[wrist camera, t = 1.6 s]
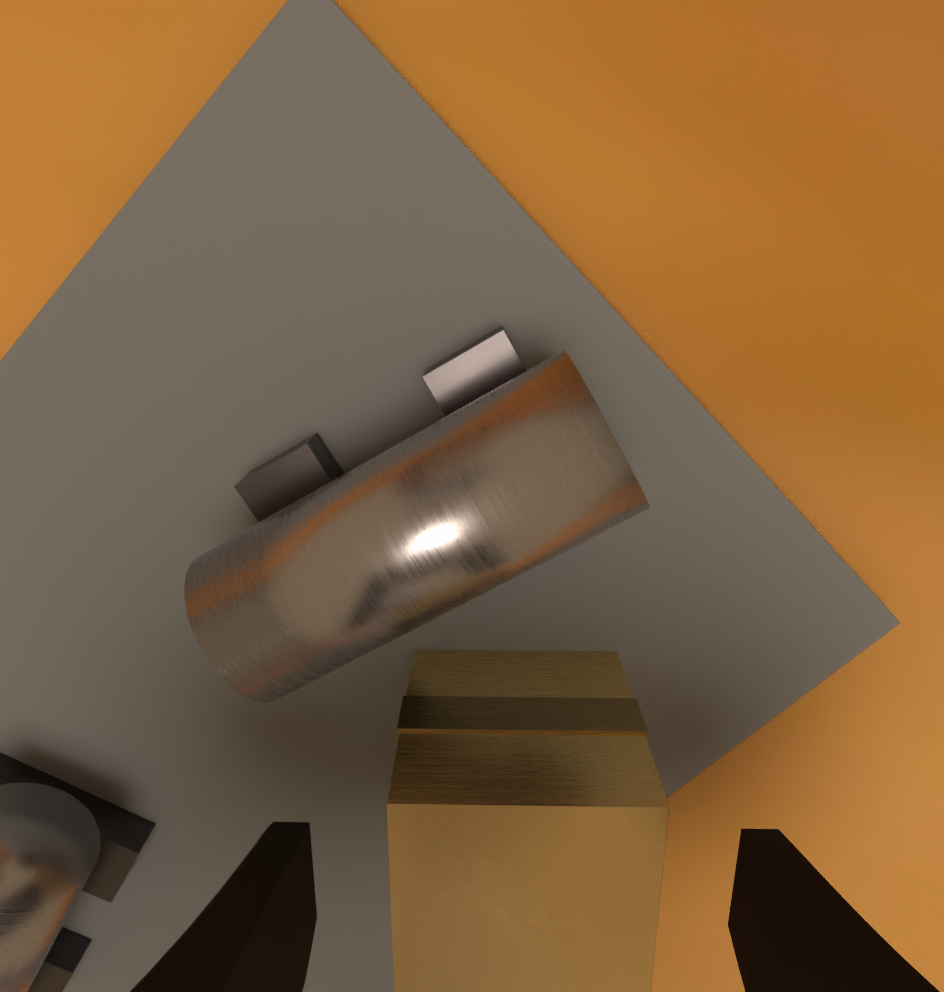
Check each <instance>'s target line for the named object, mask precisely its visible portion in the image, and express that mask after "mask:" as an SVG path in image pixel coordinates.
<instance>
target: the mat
mask: <svg viewBox="0 0 944 992" xmlns="http://www.w3.org/2000/svg"><path fill="white" fill-rule="evenodd" d="M500 326H503V327H504V329H505V331H506V333H507V335H508V337H509V338H510V340H511V342H512V344H513V346H514V347H515V349H516V351H517V353H518V355H519V357H520V358H521V360H522V362H523V364H524V366H525V367H526V369H527V370H529V369H531V368H533V367H534V366H536V365H538V364H540V363H542V362H543V361H545V360H547V359H549V358H550V357H552V356H554V355H556V354H557V353H559V352H561V351H563V350H565V351H566V352H567V354H568V355H569V357H570V358H571V360H572V362H573V363H574V365H575V367H576V368H577V370H578V372H579V374H580V375H581V377H582V379H583V380H584V382H585V384H586V386H587V387H588V389H589V391H590V393H591V395H592V396H593V398H594V400H595V402H596V404H597V405H598V407H599V409H600V411H601V413H602V414H603V416H604V418H605V420H606V422H607V424H608V425H609V427H610V429H611V431H612V433H613V435H614V437H615V438H616V440H617V442H618V444H619V446H620V448H621V450H622V452H623V453H624V455H625V457H626V459H627V461H628V463H629V465H630V467H631V469H632V471H633V473H634V475H635V477H636V479H637V480H638V482H639V484H640V486H641V488H642V491H643V493H644V495H645V497H646V499H647V501H648V503H649V506H650V508H649V509H647V510H645V511H643V512H641V513H639V514H638V515H636V516H634V517H632V518H630V519H628V520H626V521H624V522H622V523H620V524H618V525H616V526H614V527H612V528H610V529H608V530H606V531H604V532H603V533H601V534H599V535H597V536H595V537H593V538H591V539H589V540H587V541H585V542H583V543H581V544H579V545H577V546H575V547H573V548H571V549H570V550H568V551H566V552H564V553H562V554H560V555H558V556H556V557H554V558H552V559H550V560H548V561H546V562H544V563H542V564H540V565H538V566H536V567H535V568H533V569H531V570H529V571H527V572H525V573H523V574H521V575H519V576H517V577H515V578H513V579H511V580H509V581H507V582H505V583H503V584H502V585H500V586H498V587H496V588H494V589H492V590H490V591H488V592H486V593H484V594H482V595H480V596H478V597H476V598H474V599H472V600H470V601H468V602H467V603H465V604H463V605H461V606H459V607H457V608H455V609H453V610H451V611H449V612H447V613H445V614H443V615H441V616H439V617H437V618H435V619H433V620H432V621H430V622H428V623H426V624H424V625H422V626H420V627H418V628H416V629H414V630H412V631H410V632H408V633H406V634H404V635H402V636H400V637H399V638H397V639H395V640H393V641H391V642H389V643H387V644H385V645H383V646H381V647H379V648H377V649H375V650H373V651H371V652H369V653H367V654H365V655H364V656H362V657H360V658H358V659H356V660H354V661H352V662H350V663H348V664H346V665H344V666H342V667H340V668H338V669H336V670H334V671H332V672H331V673H329V674H327V675H325V676H323V677H321V678H319V679H317V680H315V681H313V682H311V683H309V684H307V685H305V686H303V687H301V688H299V689H297V690H296V691H294V692H292V693H290V694H288V695H286V696H284V697H282V698H280V699H278V700H276V701H273V702H270V703H261V702H256V701H253V700H250V699H248V698H246V697H244V696H242V695H241V694H239V693H238V692H236V691H235V690H234V689H233V688H231V687H230V686H229V685H228V684H227V683H226V682H225V681H224V680H223V679H222V678H221V677H220V676H219V674H218V673H217V672H216V671H215V670H214V668H213V667H212V666H211V664H210V663H209V661H208V660H207V658H206V657H205V655H204V653H203V651H202V650H201V648H200V646H199V644H198V642H197V640H196V638H195V635H194V633H193V630H192V628H191V625H190V622H189V618H188V615H187V610H186V605H185V597H184V585H185V577H186V574H187V570H188V568H189V566H190V564H191V563H192V562H193V561H194V560H195V559H196V558H197V557H198V556H200V555H202V554H204V553H206V552H207V551H209V550H211V549H213V548H214V547H216V546H218V545H220V544H221V543H223V542H225V541H227V540H229V539H230V538H232V537H234V536H236V535H237V534H239V533H241V532H243V531H244V530H246V529H248V528H250V527H252V526H253V525H255V524H257V523H259V522H258V520H257V519H256V517H255V516H254V515H253V513H252V512H251V510H250V509H249V507H248V506H247V505H246V503H245V502H244V500H243V499H242V497H241V496H240V495H239V493H238V492H237V490H236V489H235V487H234V486H235V485H236V484H237V483H238V482H239V481H240V480H241V479H242V478H243V477H244V476H245V475H247V474H248V473H249V472H251V471H252V470H254V469H256V468H257V467H259V466H261V465H263V464H264V463H266V462H268V461H269V460H271V459H273V458H275V457H276V456H278V455H280V454H282V453H283V452H285V451H287V450H288V449H290V448H292V447H294V446H295V445H297V444H299V443H300V442H302V441H304V440H306V439H307V438H309V437H311V436H313V435H314V434H316V433H318V434H319V435H320V437H321V438H322V440H323V441H324V443H325V444H326V446H327V448H328V449H329V451H330V452H331V454H332V455H333V457H334V458H335V460H336V461H337V463H338V464H339V466H340V468H341V469H342V471H343V472H344V474H345V473H347V472H349V471H351V470H352V469H354V468H356V467H358V466H359V465H361V464H363V463H365V462H366V461H368V460H370V459H372V458H374V457H375V456H377V455H379V454H381V453H382V452H384V451H386V450H388V449H389V448H391V447H393V446H395V445H397V444H398V443H400V442H402V441H404V440H405V439H407V438H409V437H411V436H412V435H414V434H416V433H418V432H420V431H421V430H423V429H425V428H427V427H428V426H430V425H432V424H434V423H435V422H437V421H439V420H441V419H442V418H444V417H446V416H445V414H444V413H443V411H442V409H441V408H440V406H439V404H438V402H437V401H436V399H435V397H434V396H433V394H432V392H431V391H430V389H429V387H428V386H427V384H426V382H425V380H424V379H423V375H424V373H425V371H426V369H428V368H430V367H431V366H433V365H435V364H437V363H438V362H440V361H442V360H443V359H445V358H447V357H449V356H450V355H452V354H454V353H455V352H457V351H459V350H461V349H462V348H464V347H466V346H468V345H469V344H471V343H473V342H474V341H476V340H478V339H480V338H481V337H483V336H485V335H486V334H488V333H490V332H492V331H493V330H495V329H497V328H499V327H500ZM898 624H900V622H899V620H898V619H897V618H896V617H895V616H894V615H893V614H892V613H891V612H890V611H889V610H888V608H887V607H886V606H885V605H884V604H883V603H882V602H881V601H880V600H879V599H878V597H877V596H876V595H875V594H874V593H873V592H872V591H871V590H870V589H869V588H868V587H867V585H866V584H865V583H864V582H863V581H862V580H861V579H860V578H859V577H858V576H857V574H856V573H855V572H854V571H853V570H852V569H851V568H850V567H849V566H848V565H847V564H846V562H845V561H844V560H843V559H842V558H841V557H840V556H839V555H838V554H837V553H836V551H835V550H834V549H833V548H832V547H831V546H830V545H829V544H828V543H827V542H826V541H825V539H824V538H823V537H822V536H821V535H820V534H819V533H818V532H817V531H816V530H815V528H814V527H813V526H812V525H811V524H810V523H809V522H808V521H807V520H806V519H805V517H804V516H803V515H802V514H801V513H800V512H799V511H798V510H797V509H796V508H795V507H794V505H793V504H792V503H791V502H790V501H789V500H788V499H787V498H786V497H785V496H784V494H783V493H782V492H781V491H780V490H779V489H778V488H777V487H776V486H775V485H774V484H773V482H772V481H771V480H770V479H769V478H768V477H767V476H766V475H765V474H764V473H763V471H762V470H761V469H760V468H759V467H758V466H757V465H756V464H755V463H754V462H753V461H752V459H751V458H750V457H749V456H748V455H747V454H746V453H745V452H744V451H743V450H742V448H741V447H740V446H739V445H738V444H737V443H736V442H735V441H734V440H733V439H732V438H731V436H730V435H729V434H728V433H727V432H726V431H725V430H724V429H723V428H722V427H721V425H720V424H719V423H718V422H717V421H716V420H715V419H714V418H713V417H712V416H711V415H710V413H709V412H708V411H707V410H706V409H705V408H704V407H703V406H702V405H701V404H700V402H699V401H698V400H697V399H696V398H695V397H694V396H693V395H692V394H691V393H690V392H689V390H688V389H687V388H686V387H685V386H684V385H683V384H682V383H681V382H680V381H679V379H678V378H677V377H676V376H675V375H674V374H673V373H672V372H671V371H670V370H669V369H668V367H667V366H666V365H665V364H664V363H663V362H662V361H661V360H660V359H659V358H658V356H657V355H656V354H655V353H654V352H653V351H652V350H651V349H650V348H649V347H648V346H647V344H646V343H645V342H644V341H643V340H642V339H641V338H640V337H639V336H638V335H637V333H636V332H635V331H634V330H633V329H632V328H631V327H630V326H629V325H628V324H627V323H626V321H625V320H624V319H623V318H622V317H621V316H620V315H619V314H618V313H617V312H616V310H615V309H614V308H613V307H612V306H611V305H610V304H609V303H608V302H607V301H606V300H605V298H604V297H603V296H602V295H601V294H600V293H599V292H598V291H597V290H596V289H595V287H594V286H593V285H592V284H591V283H590V282H589V281H588V280H587V279H586V278H585V277H584V275H583V274H582V273H581V272H580V271H579V270H578V269H577V268H576V267H575V266H574V264H573V263H572V262H571V261H570V260H569V259H568V258H567V257H566V256H565V255H564V254H563V252H562V251H561V250H560V249H559V248H558V247H557V246H556V245H555V244H554V243H553V241H552V240H551V239H550V238H549V237H548V236H547V235H546V234H545V233H544V232H543V231H542V229H541V228H540V227H539V226H538V225H537V224H536V223H535V222H534V221H533V220H532V218H531V217H530V216H529V215H528V214H527V213H526V212H525V211H524V210H523V209H522V208H521V206H520V205H519V204H518V203H517V202H516V201H515V200H514V199H513V198H512V197H511V195H510V194H509V193H508V192H507V191H506V190H505V189H504V188H503V187H502V186H501V184H500V183H499V182H498V181H497V180H496V179H495V178H494V177H493V176H492V175H491V174H490V172H489V171H488V170H487V169H486V168H485V167H484V166H483V165H482V164H481V163H480V161H479V160H478V159H477V158H476V157H475V156H474V155H473V154H472V153H471V152H470V151H469V149H468V148H467V147H466V146H465V145H464V144H463V143H462V142H461V141H460V140H459V138H458V137H457V136H456V135H455V134H454V133H453V132H452V131H451V130H450V129H449V128H448V126H447V125H446V124H445V123H444V122H443V121H442V120H441V119H440V118H439V117H438V115H437V114H436V113H435V112H434V111H433V110H432V109H431V108H430V107H429V106H428V105H427V103H426V102H425V101H424V100H423V99H422V98H421V97H420V96H419V95H418V94H417V92H416V91H415V90H414V89H413V88H412V87H411V86H410V85H409V84H408V83H407V82H406V80H405V79H404V78H403V77H402V76H401V75H400V74H399V73H398V72H397V71H396V69H395V68H394V67H393V66H392V65H391V64H390V63H389V62H388V61H387V60H386V59H385V57H384V56H383V55H382V54H381V53H380V52H379V51H378V50H377V49H376V48H375V46H374V45H373V44H372V43H371V42H370V41H369V40H368V39H367V38H366V37H365V36H364V34H363V33H362V32H361V31H360V30H359V29H358V28H357V27H356V26H355V25H354V23H353V22H352V21H351V20H350V19H349V18H348V17H347V16H346V15H345V14H344V13H343V11H342V10H341V9H340V8H339V7H338V6H337V5H336V4H335V3H334V2H333V0H288V1H287V2H286V3H285V4H284V6H283V7H282V8H281V10H280V11H279V12H278V13H277V15H276V16H275V17H274V18H273V20H272V21H271V22H270V23H269V25H268V26H267V27H266V28H265V30H264V31H263V32H262V33H261V35H260V36H259V37H258V38H257V40H256V41H255V42H254V43H253V45H252V46H251V47H250V48H249V50H248V51H247V52H246V53H245V55H244V56H243V57H242V58H241V60H240V61H239V62H238V63H237V65H236V66H235V67H234V68H233V70H232V71H231V72H230V73H229V75H228V76H227V77H226V78H225V80H224V81H223V82H222V84H221V85H220V86H219V87H218V89H217V90H216V91H215V92H214V94H213V95H212V96H211V97H210V99H209V100H208V101H207V102H206V104H205V105H204V106H203V107H202V109H201V110H200V111H199V112H198V114H197V115H196V116H195V117H194V119H193V120H192V121H191V122H190V124H189V125H188V126H187V127H186V129H185V130H184V131H183V132H182V134H181V135H180V136H179V137H178V139H177V140H176V141H175V142H174V144H173V145H172V146H171V147H170V149H169V150H168V151H167V152H166V154H165V155H164V156H163V158H162V159H161V160H160V161H159V163H158V164H157V165H156V166H155V168H154V169H153V170H152V171H151V173H150V174H149V175H148V176H147V178H146V179H145V180H144V181H143V183H142V184H141V185H140V186H139V188H138V189H137V190H136V191H135V193H134V194H133V195H132V196H131V198H130V199H129V200H128V201H127V203H126V204H125V205H124V206H123V208H122V209H121V210H120V211H119V213H118V214H117V215H116V216H115V218H114V219H113V220H112V221H111V223H110V224H109V225H108V226H107V228H106V229H105V230H104V231H103V233H102V234H101V235H100V237H99V238H98V239H97V240H96V242H95V243H94V244H93V245H92V247H91V248H90V249H89V250H88V252H87V253H86V254H85V255H84V257H83V258H82V259H81V260H80V262H79V263H78V264H77V265H76V267H75V268H74V269H73V270H72V272H71V273H70V274H69V275H68V277H67V278H66V279H65V280H64V282H63V283H62V284H61V285H60V287H59V288H58V289H57V290H56V292H55V293H54V294H53V295H52V297H51V298H50V299H49V300H48V302H47V303H46V304H45V305H44V307H43V308H42V309H41V311H40V312H39V313H38V314H37V316H36V317H35V318H34V319H33V321H32V322H31V323H30V324H29V326H28V327H27V328H26V329H25V331H24V332H23V333H22V334H21V336H20V337H19V338H18V339H17V341H16V342H15V343H14V344H13V346H12V347H11V348H10V349H9V351H8V352H7V353H6V354H5V356H4V357H3V358H2V359H1V361H0V752H1V753H3V754H5V755H7V756H10V757H12V758H14V759H16V760H18V761H20V762H23V763H25V764H27V765H29V766H31V767H34V768H36V769H38V770H40V771H42V772H45V773H47V774H49V775H51V776H53V777H55V778H58V779H60V780H62V781H64V782H66V783H69V784H71V785H73V786H75V787H77V788H80V789H82V790H84V791H86V792H88V793H90V794H93V795H95V796H97V797H99V798H101V799H104V800H106V801H108V802H110V803H112V804H115V805H117V806H119V807H121V808H123V809H126V810H128V811H130V812H132V813H134V814H136V815H139V816H141V817H143V818H145V819H147V820H150V821H152V822H154V823H156V825H155V826H154V828H153V830H152V832H151V834H150V835H149V837H148V839H147V841H146V843H145V844H144V846H143V848H142V850H141V852H140V854H139V855H138V857H137V859H136V861H135V863H134V864H133V866H132V868H131V870H130V872H129V873H128V875H127V877H126V879H125V880H124V882H123V884H122V885H121V887H120V889H119V891H118V892H117V894H116V896H115V898H114V899H113V901H112V903H109V902H107V901H105V900H102V899H100V898H98V897H96V896H93V895H91V894H89V893H86V892H84V891H82V890H81V892H80V894H79V896H78V898H77V900H76V902H75V904H74V906H73V907H72V909H71V911H70V913H69V915H68V917H67V919H66V921H65V922H64V924H63V926H62V927H65V928H67V929H69V930H72V931H74V932H76V933H79V934H81V935H83V936H86V937H88V938H90V939H92V941H91V942H90V944H89V946H88V948H87V950H86V951H85V953H84V955H83V957H82V959H81V960H80V962H79V964H78V966H77V968H76V970H75V971H74V973H73V975H72V977H71V979H70V980H69V982H68V984H67V986H66V987H65V989H64V991H63V992H130V991H131V990H132V989H133V988H134V987H135V985H136V984H137V983H138V982H139V981H140V980H141V979H142V978H143V977H144V976H145V975H146V974H147V973H148V972H149V971H150V970H151V969H152V967H153V966H154V965H155V964H156V963H157V962H158V961H159V960H160V959H161V958H162V956H163V955H164V954H165V953H166V952H167V951H168V950H169V949H170V948H171V947H172V945H173V944H174V943H175V942H176V941H177V940H178V939H179V938H180V937H181V935H182V934H183V933H184V932H185V931H186V930H187V929H188V927H189V926H190V925H191V924H192V923H193V922H194V920H195V919H196V918H197V917H198V915H199V914H200V913H201V912H202V911H203V909H204V908H205V907H206V906H207V905H208V903H209V902H210V901H211V900H212V899H213V897H214V896H215V895H216V894H217V893H218V891H219V890H220V889H221V888H222V886H223V885H224V884H225V883H226V881H227V880H228V879H229V877H230V876H231V875H232V874H233V872H234V871H235V870H236V869H237V867H238V866H239V865H240V863H241V862H242V861H243V859H244V858H245V857H246V855H247V854H248V853H249V851H250V850H251V849H252V847H253V846H254V845H255V843H256V842H257V841H258V839H259V838H260V837H261V835H262V834H263V832H264V831H265V830H266V828H267V827H268V826H269V825H270V824H272V823H273V822H310V834H311V846H312V859H313V871H314V884H315V896H316V909H317V921H316V927H315V932H314V938H313V943H312V949H311V954H310V959H309V964H308V969H307V975H306V980H305V984H304V988H303V991H302V992H394V974H393V948H392V923H391V897H390V871H389V846H388V820H387V800H388V795H389V789H390V783H391V778H392V772H393V767H394V761H395V756H396V750H397V745H398V743H397V726H398V720H399V715H400V710H401V704H402V699H403V696H406V695H407V689H408V684H409V678H410V673H411V667H412V662H413V656H414V651H415V649H427V650H518V651H609V652H618V655H619V658H620V661H621V664H622V667H623V670H624V673H625V676H626V679H627V682H628V685H629V688H630V691H631V694H632V697H633V698H634V699H637V701H638V704H639V707H640V710H641V713H642V715H643V718H644V721H645V724H646V727H647V730H648V737H647V742H648V745H649V748H650V751H651V754H652V757H653V760H654V763H655V766H656V769H657V772H658V775H659V778H660V781H661V784H662V787H663V790H664V793H665V796H666V798H668V797H669V796H670V795H672V794H673V793H674V792H676V791H677V790H678V789H680V788H681V787H682V786H684V785H685V784H686V783H688V782H689V781H690V780H692V779H693V778H694V777H696V776H697V775H698V774H700V773H701V772H702V771H704V770H705V769H706V768H708V767H709V766H710V765H712V764H713V763H714V762H716V761H717V760H718V759H720V758H721V757H722V756H724V755H725V754H726V753H728V752H729V751H730V750H732V749H733V748H734V747H736V746H737V745H738V744H740V743H741V742H742V741H744V740H745V739H746V738H748V737H749V736H750V735H752V734H753V733H754V732H756V731H757V730H758V729H760V728H761V727H762V726H764V725H765V724H766V723H768V722H769V721H770V720H772V719H773V718H774V717H776V716H777V715H778V714H780V713H781V712H782V711H784V710H785V709H786V708H788V707H789V706H790V705H792V704H793V703H794V702H796V701H797V700H798V699H800V698H801V697H802V696H804V695H805V694H806V693H808V692H809V691H810V690H812V689H813V688H814V687H816V686H817V685H818V684H820V683H821V682H822V681H824V680H825V679H826V678H828V677H829V676H830V675H832V674H833V673H834V672H836V671H837V670H838V669H840V668H841V667H842V666H844V665H845V664H846V663H848V662H849V661H850V660H852V659H853V658H854V657H856V656H857V655H858V654H860V653H861V652H862V651H864V650H865V649H866V648H868V647H869V646H870V645H872V644H873V643H874V642H876V641H877V640H878V639H880V638H881V637H882V636H884V635H885V634H886V633H888V632H889V631H890V630H892V629H893V628H894V627H896V626H897V625H898Z"/></svg>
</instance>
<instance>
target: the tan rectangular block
mask: <svg viewBox="0 0 944 992" xmlns="http://www.w3.org/2000/svg"><path fill="white" fill-rule="evenodd" d="M647 737H648V730H647V727H646V724H645V721H644V718H643V715H642V713H641V710H640V707H639V704H638V701H637V699H634V698H633V697H632V694H631V691H630V688H629V685H628V682H627V679H626V676H625V673H624V670H623V667H622V664H621V661H620V658H619V655H618V652H609V651H518V650H427V649H415V651H414V656H413V662H412V667H411V673H410V678H409V684H408V689H407V695H406V696H403V699H402V704H401V710H400V715H399V720H398V726H397V743H398V745H397V750H396V756H395V761H394V767H393V772H392V778H391V783H390V789H389V795H388V800H387V820H388V846H389V871H390V897H391V923H392V948H393V974H394V992H651V985H652V975H653V965H654V955H655V945H656V935H657V925H658V916H659V906H660V896H661V886H662V876H663V866H664V856H665V846H666V836H667V826H668V816H669V805H668V802H667V799H666V796H665V793H664V790H663V787H662V784H661V781H660V778H659V775H658V772H657V769H656V766H655V763H654V760H653V757H652V754H651V751H650V748H649V745H648V742H647Z"/></svg>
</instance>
